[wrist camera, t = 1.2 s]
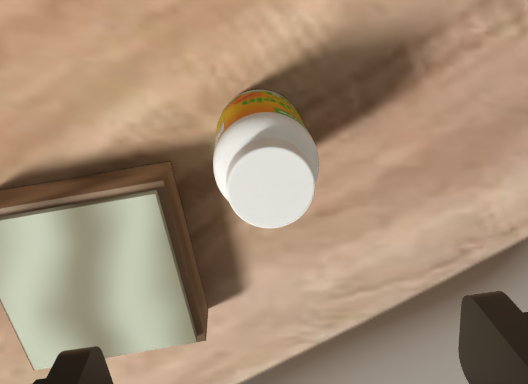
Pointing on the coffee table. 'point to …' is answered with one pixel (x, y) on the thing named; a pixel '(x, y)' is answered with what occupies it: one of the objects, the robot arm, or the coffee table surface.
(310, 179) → the supplement bottle
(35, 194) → the plinth
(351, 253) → the coffee table surface
